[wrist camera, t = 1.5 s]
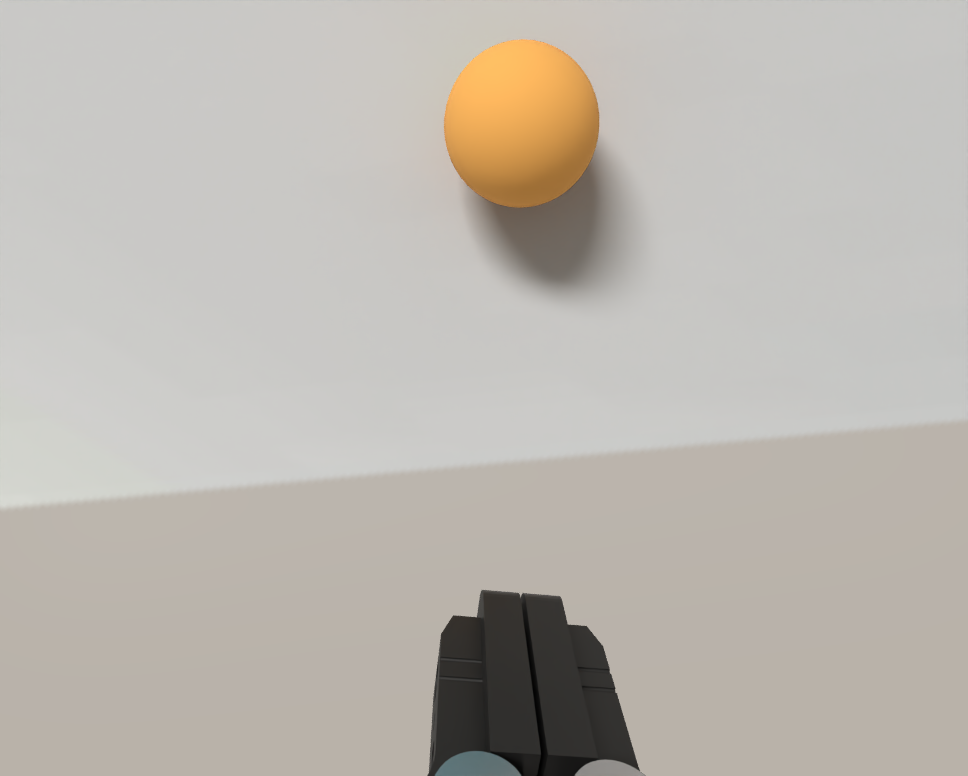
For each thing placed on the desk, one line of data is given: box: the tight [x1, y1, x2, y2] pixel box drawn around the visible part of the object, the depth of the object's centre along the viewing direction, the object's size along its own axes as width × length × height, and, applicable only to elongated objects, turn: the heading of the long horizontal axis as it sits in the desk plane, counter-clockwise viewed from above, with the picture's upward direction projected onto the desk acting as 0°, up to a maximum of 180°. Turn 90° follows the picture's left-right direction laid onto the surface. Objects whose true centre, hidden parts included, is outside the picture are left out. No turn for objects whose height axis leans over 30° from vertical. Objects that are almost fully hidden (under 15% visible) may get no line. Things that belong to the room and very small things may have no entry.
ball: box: [444, 40, 599, 208], centre depth 22 cm, size 6×6×6 cm
